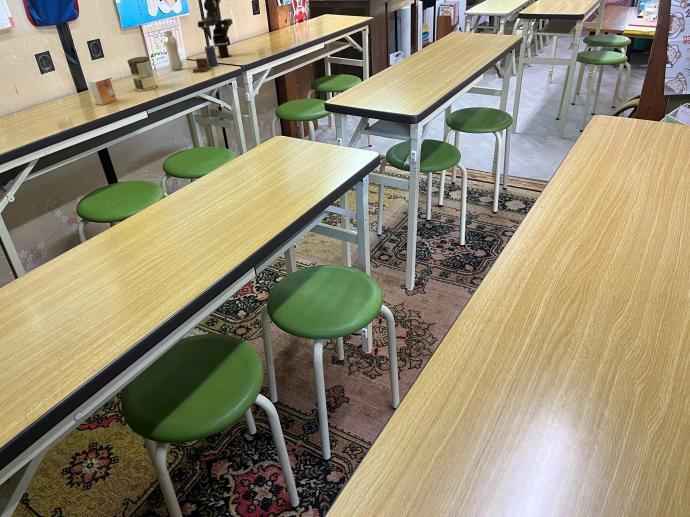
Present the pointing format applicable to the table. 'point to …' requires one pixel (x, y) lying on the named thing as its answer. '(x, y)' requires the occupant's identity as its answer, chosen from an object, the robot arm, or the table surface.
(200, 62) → the stand
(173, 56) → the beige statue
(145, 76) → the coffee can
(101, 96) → the small box
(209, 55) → the blue box
